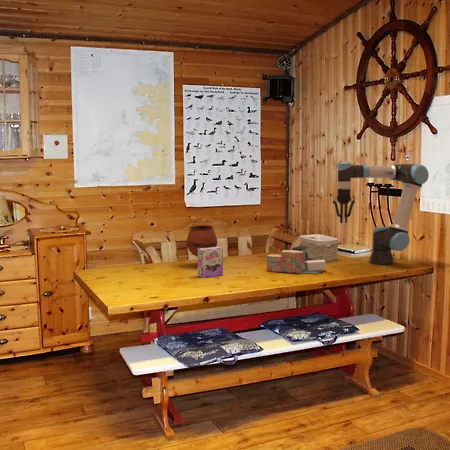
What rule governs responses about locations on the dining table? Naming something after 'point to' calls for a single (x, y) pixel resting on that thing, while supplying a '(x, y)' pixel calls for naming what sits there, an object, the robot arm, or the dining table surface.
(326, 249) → the storage basket
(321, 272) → the pad
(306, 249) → the small box
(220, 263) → the candy box
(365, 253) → the dining table surface
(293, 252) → the stack of blocks
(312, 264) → the tall block
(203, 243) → the terracotta clay vase
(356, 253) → the dining table surface
